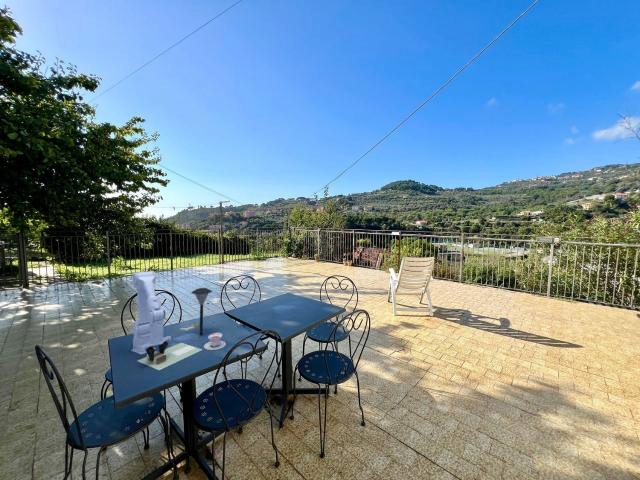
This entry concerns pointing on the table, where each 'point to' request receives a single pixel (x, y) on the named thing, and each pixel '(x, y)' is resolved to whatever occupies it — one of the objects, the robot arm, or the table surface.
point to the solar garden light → (201, 303)
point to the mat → (173, 355)
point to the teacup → (214, 342)
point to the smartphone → (190, 327)
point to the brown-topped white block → (157, 358)
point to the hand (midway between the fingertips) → (156, 358)
